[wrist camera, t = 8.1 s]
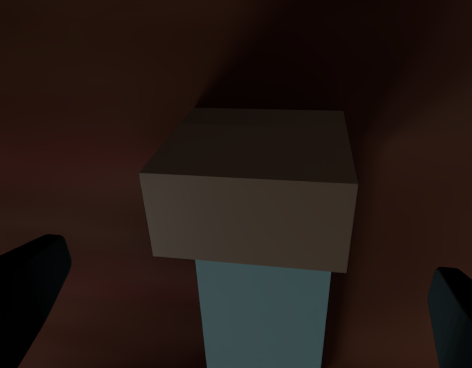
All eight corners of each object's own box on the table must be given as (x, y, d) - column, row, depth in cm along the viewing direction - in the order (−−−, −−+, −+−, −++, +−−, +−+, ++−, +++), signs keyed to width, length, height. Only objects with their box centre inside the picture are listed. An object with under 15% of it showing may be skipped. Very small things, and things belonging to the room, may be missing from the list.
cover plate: (316, 372, 23) (317, 490, 18) (216, 359, 24) (190, 467, 19) (343, 110, 15) (358, 184, 10) (194, 107, 16) (138, 172, 11)
